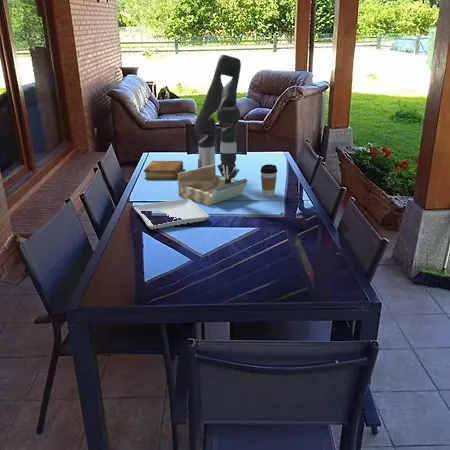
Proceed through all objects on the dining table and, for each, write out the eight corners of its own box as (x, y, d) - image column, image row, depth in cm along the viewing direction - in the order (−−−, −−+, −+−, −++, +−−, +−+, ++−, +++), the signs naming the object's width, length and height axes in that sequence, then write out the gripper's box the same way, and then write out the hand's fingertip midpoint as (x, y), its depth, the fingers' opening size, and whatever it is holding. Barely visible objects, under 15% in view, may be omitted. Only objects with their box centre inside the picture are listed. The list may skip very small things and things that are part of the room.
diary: (177, 180, 280) (176, 170, 278) (144, 180, 281) (143, 170, 279) (183, 169, 301) (182, 160, 299) (152, 169, 303) (152, 160, 301)
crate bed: (178, 196, 250) (177, 173, 246) (214, 186, 266) (213, 164, 261) (207, 206, 236) (206, 181, 231) (242, 194, 251) (242, 171, 247)
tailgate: (208, 202, 237) (215, 187, 231) (238, 193, 250) (245, 178, 244) (210, 204, 237) (217, 189, 230) (240, 195, 250) (247, 180, 243)
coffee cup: (279, 194, 251) (279, 165, 246) (273, 198, 244) (274, 169, 239) (263, 192, 255) (264, 163, 249) (257, 196, 248) (257, 167, 242)
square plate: (133, 213, 228) (132, 205, 227) (189, 205, 238) (189, 197, 237) (148, 233, 205) (148, 224, 204) (210, 223, 215) (210, 215, 213)
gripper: (212, 149, 235) (213, 184, 241) (232, 154, 226) (232, 191, 233) (224, 146, 240) (224, 181, 246) (244, 151, 231) (243, 187, 237)
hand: (228, 185), depth 239 cm, fingers closed
